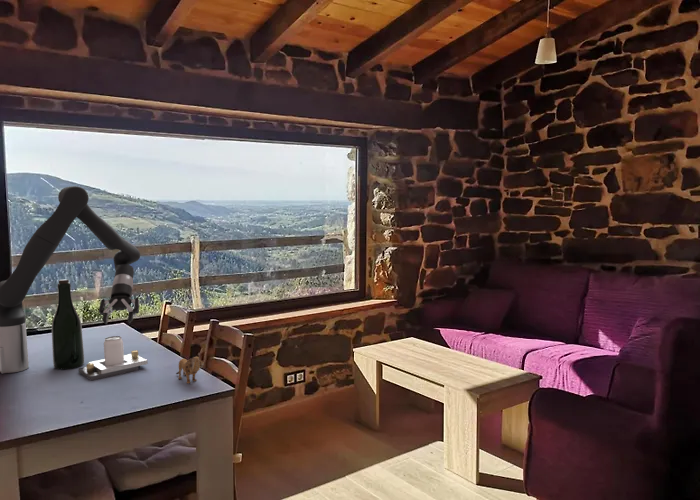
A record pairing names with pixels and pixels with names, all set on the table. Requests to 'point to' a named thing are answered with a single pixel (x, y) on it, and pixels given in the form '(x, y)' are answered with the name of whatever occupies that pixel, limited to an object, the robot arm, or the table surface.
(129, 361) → the upper link
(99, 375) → the lower link
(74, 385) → the table surface
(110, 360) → the can
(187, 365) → the lion figurine
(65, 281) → the green wine bottle
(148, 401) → the table surface
